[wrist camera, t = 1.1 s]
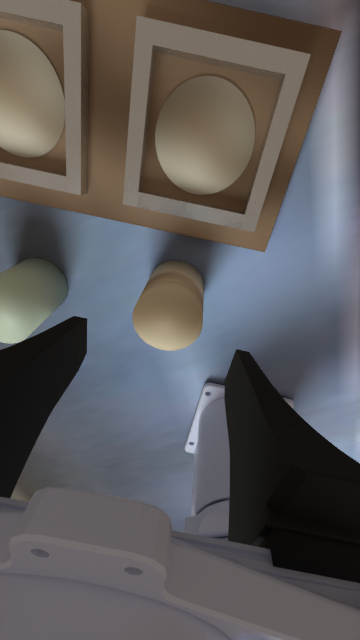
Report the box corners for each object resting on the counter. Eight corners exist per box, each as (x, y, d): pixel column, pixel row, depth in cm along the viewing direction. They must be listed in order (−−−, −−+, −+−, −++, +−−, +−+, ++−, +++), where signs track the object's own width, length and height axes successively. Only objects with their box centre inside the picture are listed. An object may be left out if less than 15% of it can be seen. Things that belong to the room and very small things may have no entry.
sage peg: (68, 311, 22) (34, 349, 18) (18, 301, 22) (-28, 336, 18) (67, 264, 20) (28, 292, 16) (12, 252, 20) (-42, 278, 16)
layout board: (262, 247, 18) (267, 256, 16) (-42, 183, 18) (-69, 185, 16) (332, 39, 13) (351, 21, 11) (-91, -55, 13) (-138, -89, 11)
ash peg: (197, 316, 21) (194, 356, 17) (146, 305, 21) (129, 342, 17) (209, 266, 19) (210, 297, 15) (152, 254, 19) (136, 282, 15)
